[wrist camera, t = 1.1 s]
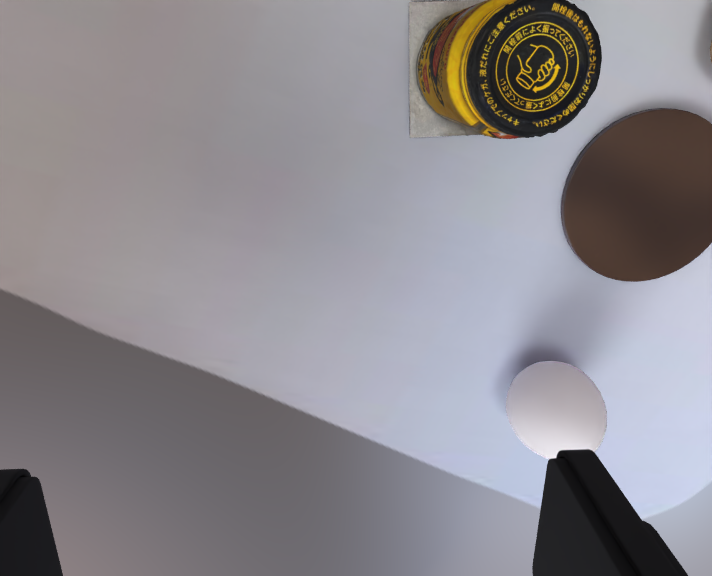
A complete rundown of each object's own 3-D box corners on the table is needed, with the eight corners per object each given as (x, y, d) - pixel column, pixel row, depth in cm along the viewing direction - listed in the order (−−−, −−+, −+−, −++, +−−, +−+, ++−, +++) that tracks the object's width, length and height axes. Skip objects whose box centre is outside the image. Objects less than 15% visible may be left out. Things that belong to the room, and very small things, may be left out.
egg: (534, 327, 40) (579, 385, 33) (595, 372, 42) (651, 435, 34) (476, 390, 42) (508, 458, 34) (537, 431, 43) (580, 504, 36)
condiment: (408, 2, 32) (455, -29, 21) (559, -4, 32) (684, -38, 21) (409, 137, 35) (450, 173, 24) (548, 131, 35) (654, 163, 24)
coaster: (570, 111, 35) (573, 111, 34) (748, 105, 35) (754, 105, 35) (552, 282, 39) (555, 285, 38) (713, 275, 39) (717, 278, 39)
